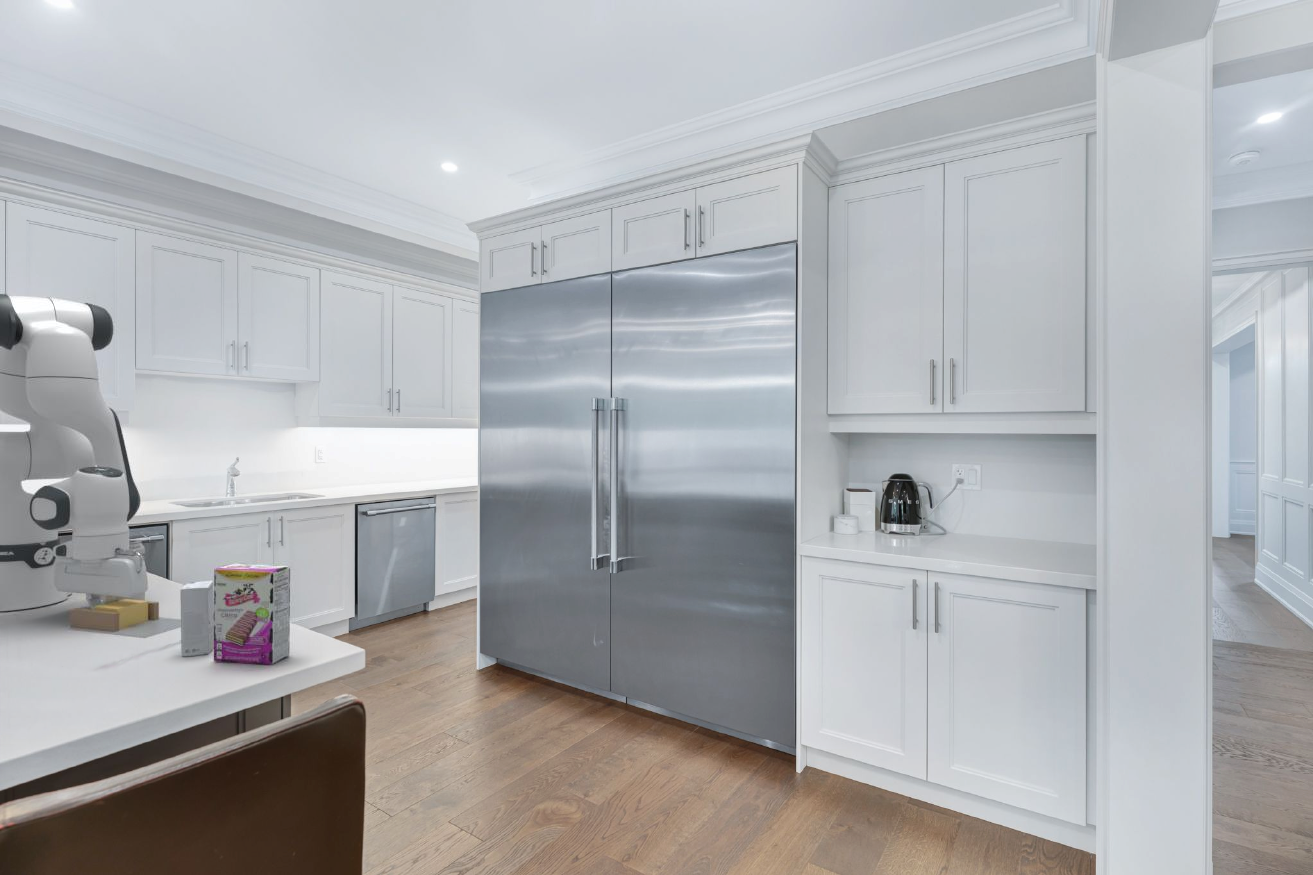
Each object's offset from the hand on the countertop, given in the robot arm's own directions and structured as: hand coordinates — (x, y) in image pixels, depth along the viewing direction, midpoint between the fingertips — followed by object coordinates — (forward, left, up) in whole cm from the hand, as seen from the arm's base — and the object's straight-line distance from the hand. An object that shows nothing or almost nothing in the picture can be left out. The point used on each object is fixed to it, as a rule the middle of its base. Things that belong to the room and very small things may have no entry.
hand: (101, 615), depth 132 cm
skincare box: (+31, -6, -2) cm, 32 cm away
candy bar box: (+44, -7, -2) cm, 45 cm away
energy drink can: (-8, +11, -2) cm, 14 cm away
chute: (+8, 0, -2) cm, 9 cm away
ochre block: (+5, 0, -1) cm, 5 cm away
